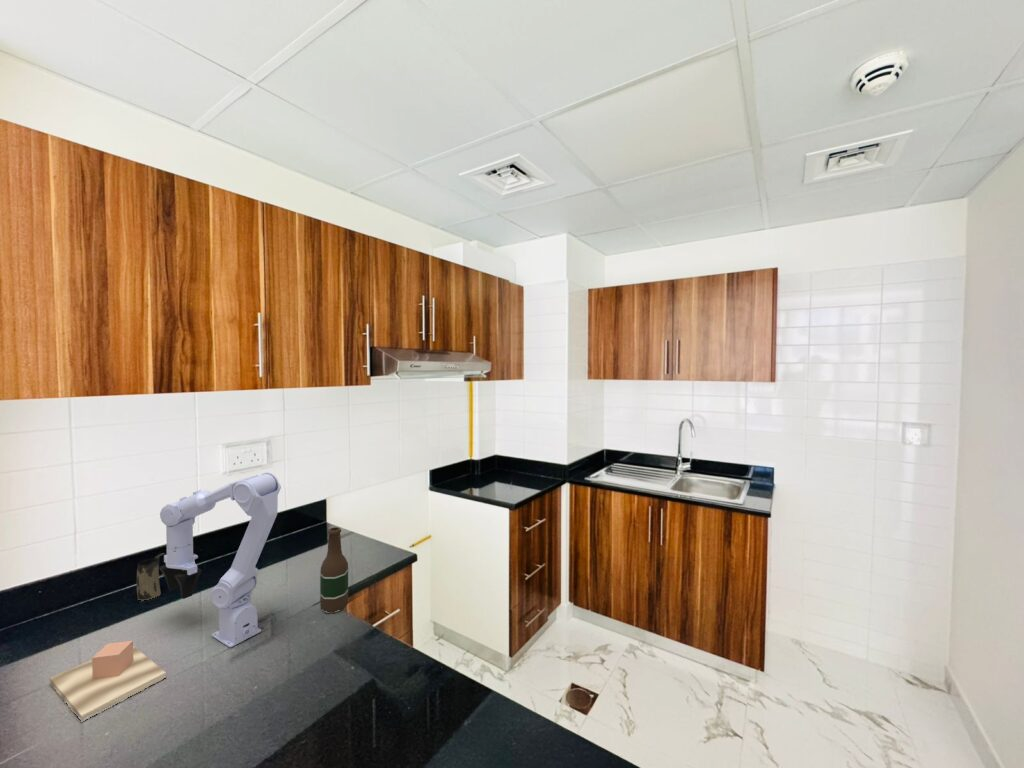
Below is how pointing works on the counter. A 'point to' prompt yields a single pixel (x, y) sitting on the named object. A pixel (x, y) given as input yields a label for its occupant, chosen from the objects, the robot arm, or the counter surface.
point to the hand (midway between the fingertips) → (180, 592)
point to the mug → (148, 578)
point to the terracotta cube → (112, 659)
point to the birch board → (104, 684)
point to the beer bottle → (334, 575)
